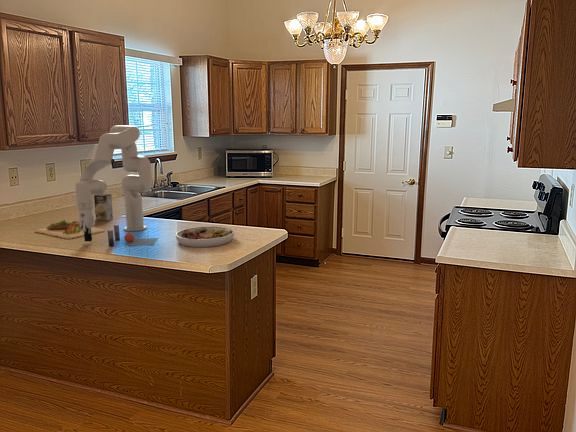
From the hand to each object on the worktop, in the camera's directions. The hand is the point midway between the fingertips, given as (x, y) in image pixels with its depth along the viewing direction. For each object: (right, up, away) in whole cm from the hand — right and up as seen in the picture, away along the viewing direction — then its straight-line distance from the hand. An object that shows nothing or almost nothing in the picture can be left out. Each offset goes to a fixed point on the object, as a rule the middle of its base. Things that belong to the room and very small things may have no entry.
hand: (88, 240), depth 255 cm
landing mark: (+27, -1, +3) cm, 27 cm away
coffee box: (-15, +11, +62) cm, 65 cm away
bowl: (+60, -1, +4) cm, 60 cm away
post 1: (+13, -2, -4) cm, 14 cm away
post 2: (+12, 0, +7) cm, 14 cm away
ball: (+21, +2, +1) cm, 21 cm away
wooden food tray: (-22, +3, +29) cm, 36 cm away
